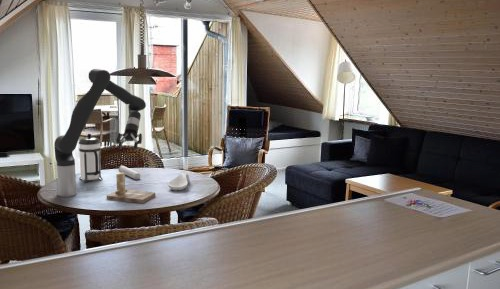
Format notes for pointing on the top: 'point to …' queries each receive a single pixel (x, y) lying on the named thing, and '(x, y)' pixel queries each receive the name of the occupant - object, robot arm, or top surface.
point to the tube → (129, 172)
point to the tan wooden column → (120, 183)
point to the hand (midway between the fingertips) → (127, 148)
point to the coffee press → (90, 158)
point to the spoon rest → (179, 182)
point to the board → (132, 196)
